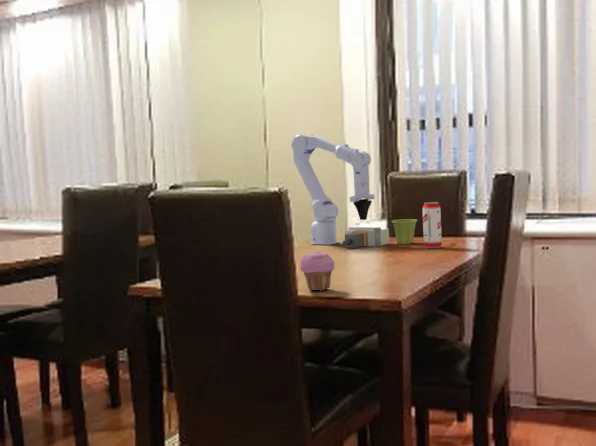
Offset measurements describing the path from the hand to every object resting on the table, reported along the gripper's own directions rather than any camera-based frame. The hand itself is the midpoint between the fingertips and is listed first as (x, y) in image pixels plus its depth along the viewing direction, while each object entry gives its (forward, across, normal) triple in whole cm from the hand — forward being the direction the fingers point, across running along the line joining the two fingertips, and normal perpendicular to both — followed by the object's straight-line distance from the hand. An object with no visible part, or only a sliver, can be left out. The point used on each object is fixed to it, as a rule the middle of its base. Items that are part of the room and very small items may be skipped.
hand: (363, 219), depth 282 cm
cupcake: (+10, -86, -40) cm, 96 cm away
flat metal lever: (+3, -5, -4) cm, 7 cm away
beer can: (+10, -2, -30) cm, 32 cm away
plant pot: (+10, +6, -14) cm, 18 cm away
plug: (+9, -7, -1) cm, 12 cm away
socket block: (+10, 0, -2) cm, 10 cm away
